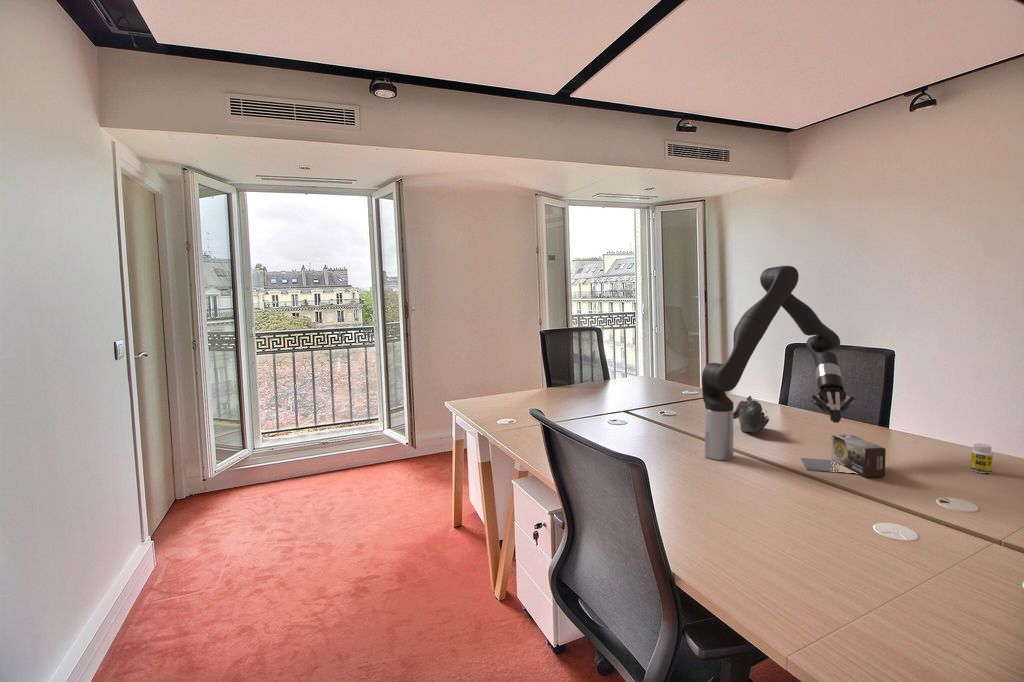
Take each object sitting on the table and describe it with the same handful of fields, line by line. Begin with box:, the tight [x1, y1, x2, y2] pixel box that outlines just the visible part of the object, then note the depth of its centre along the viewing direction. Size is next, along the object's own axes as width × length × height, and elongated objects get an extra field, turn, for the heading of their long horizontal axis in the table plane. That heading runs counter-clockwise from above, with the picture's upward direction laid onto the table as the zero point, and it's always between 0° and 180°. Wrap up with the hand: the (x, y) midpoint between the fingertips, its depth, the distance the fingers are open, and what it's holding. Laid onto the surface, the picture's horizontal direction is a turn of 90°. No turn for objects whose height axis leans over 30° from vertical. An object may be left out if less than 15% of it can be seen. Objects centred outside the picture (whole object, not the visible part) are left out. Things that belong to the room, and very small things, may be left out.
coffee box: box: [830, 432, 887, 478], centre depth 157 cm, size 9×6×16 cm
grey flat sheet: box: [800, 457, 840, 472], centre depth 160 cm, size 20×12×1 cm, turn 68°
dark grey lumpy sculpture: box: [733, 395, 770, 434], centre depth 200 cm, size 14×15×20 cm
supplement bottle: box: [969, 442, 993, 474], centre depth 151 cm, size 5×5×8 cm
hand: (836, 421), depth 163 cm, fingers closed
